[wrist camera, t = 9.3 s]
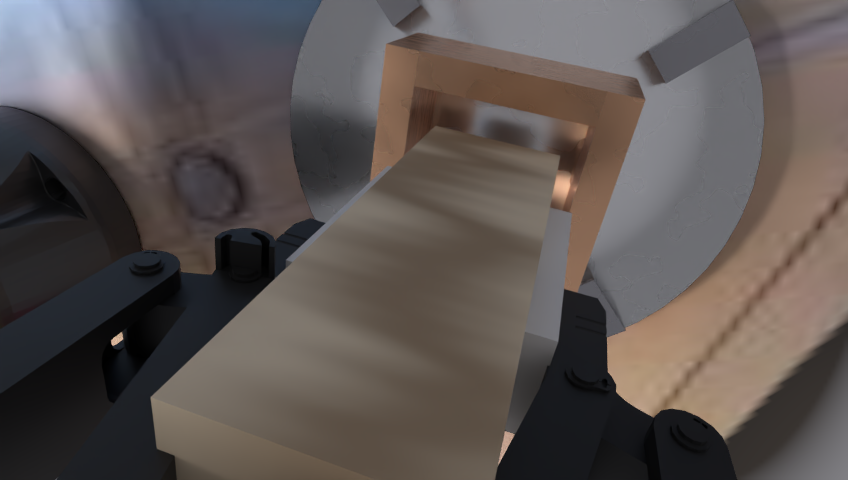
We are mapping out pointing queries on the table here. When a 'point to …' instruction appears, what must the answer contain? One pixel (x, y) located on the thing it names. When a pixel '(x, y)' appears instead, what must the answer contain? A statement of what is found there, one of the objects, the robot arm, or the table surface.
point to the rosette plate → (551, 119)
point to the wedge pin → (378, 332)
